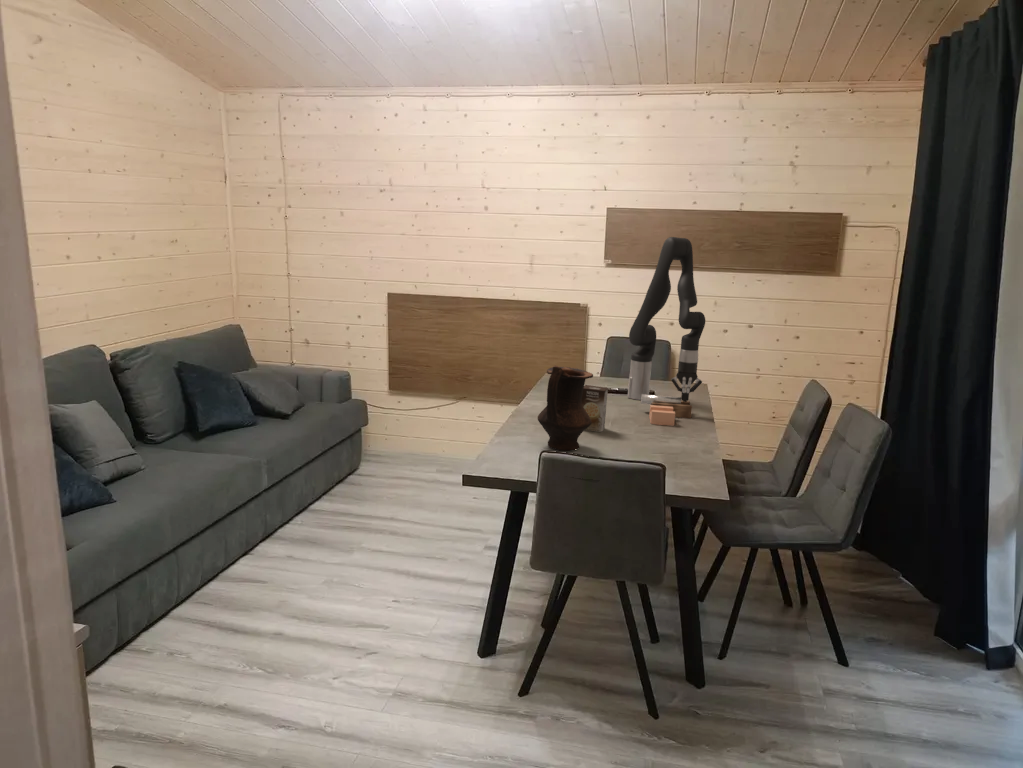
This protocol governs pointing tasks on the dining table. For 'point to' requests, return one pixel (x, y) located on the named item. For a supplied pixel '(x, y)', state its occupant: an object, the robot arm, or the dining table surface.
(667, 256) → the robot arm
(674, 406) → the wooden channel bracket
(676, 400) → the steel axle
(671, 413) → the terracotta cradle
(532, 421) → the dining table surface
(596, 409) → the coffee box
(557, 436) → the jug
